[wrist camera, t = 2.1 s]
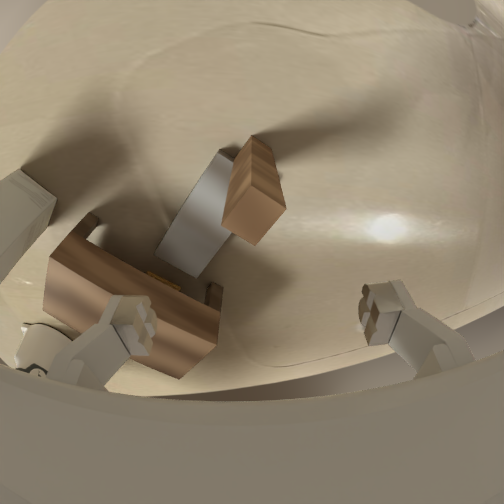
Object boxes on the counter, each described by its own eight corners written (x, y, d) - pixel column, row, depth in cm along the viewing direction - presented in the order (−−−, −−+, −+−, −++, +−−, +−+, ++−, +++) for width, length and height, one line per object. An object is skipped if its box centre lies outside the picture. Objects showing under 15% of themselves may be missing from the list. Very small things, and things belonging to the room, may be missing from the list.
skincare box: (11, 198, 29) (-55, 258, 17) (20, 165, 27) (-57, 221, 14) (49, 229, 32) (-11, 301, 20) (61, 198, 30) (-11, 269, 18)
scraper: (236, 125, 26) (222, 167, 14) (285, 158, 28) (310, 225, 16) (157, 248, 34) (119, 336, 22) (198, 270, 36) (178, 363, 24)
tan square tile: (168, 305, 40) (167, 310, 40) (137, 291, 39) (135, 295, 38) (181, 284, 38) (180, 289, 37) (148, 268, 37) (146, 272, 36)
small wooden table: (189, 326, 42) (179, 379, 34) (73, 264, 36) (42, 310, 28) (223, 287, 38) (217, 345, 30) (88, 212, 31) (49, 256, 23)
